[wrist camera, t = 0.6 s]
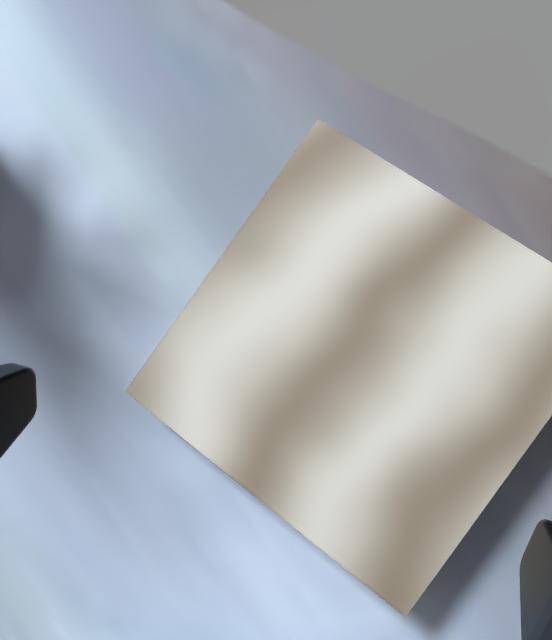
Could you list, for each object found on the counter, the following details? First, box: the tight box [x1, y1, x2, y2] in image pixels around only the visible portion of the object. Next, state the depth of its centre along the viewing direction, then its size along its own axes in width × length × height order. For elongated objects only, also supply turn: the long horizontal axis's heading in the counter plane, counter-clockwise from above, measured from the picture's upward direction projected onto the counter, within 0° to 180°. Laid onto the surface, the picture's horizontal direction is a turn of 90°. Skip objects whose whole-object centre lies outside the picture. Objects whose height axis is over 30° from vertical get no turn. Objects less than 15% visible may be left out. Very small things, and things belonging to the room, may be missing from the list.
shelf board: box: [125, 119, 552, 617], centre depth 22 cm, size 14×14×2 cm
